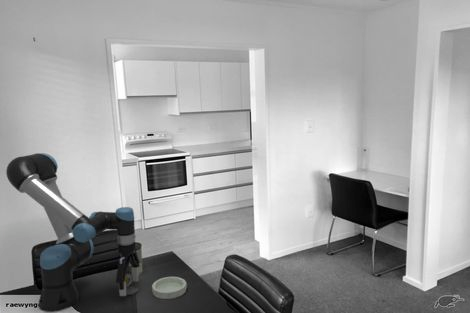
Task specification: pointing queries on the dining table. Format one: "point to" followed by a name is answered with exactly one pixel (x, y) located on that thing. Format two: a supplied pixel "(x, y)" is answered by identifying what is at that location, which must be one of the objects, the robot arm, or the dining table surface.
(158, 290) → the dish
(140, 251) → the coffee can
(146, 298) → the dining table surface
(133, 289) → the pocket watch
